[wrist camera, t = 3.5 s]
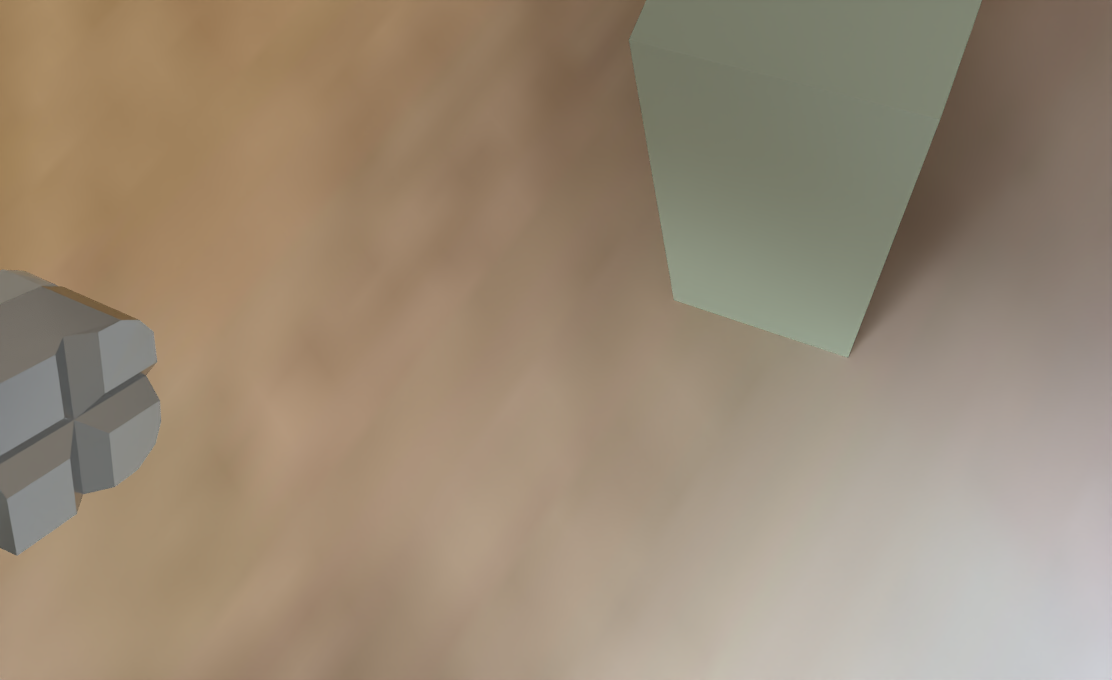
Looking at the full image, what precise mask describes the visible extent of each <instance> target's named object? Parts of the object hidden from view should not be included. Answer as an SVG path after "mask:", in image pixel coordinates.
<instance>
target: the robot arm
mask: <svg viewBox="0 0 1112 680" xmlns="http://www.w3.org/2000/svg"><path fill="white" fill-rule="evenodd" d="M156 363H157V357H156V349H155V341H154V332H153V331H152V330H151V329H149V328H148V327H147V326H146V325H144V324H143V323H142V322H141V321H140V320H138V319H136V318H133V317H131V316H129V315H127V314H124V313H122V312H120V311H117V310H115V309H113V308H110V307H108V306H106V305H104V304H101V303H99V302H97V301H94V300H92V299H90V298H88V297H85V296H83V295H81V294H78V293H76V292H74V291H72V290H69V289H67V288H65V287H61V286H57V285H55V284H53V283H51V282H49V281H46V280H44V279H42V278H39V277H37V276H35V275H33V274H30V273H28V272H26V271H18V270H0V548H2V549H4V550H6V551H8V552H10V553H12V554H14V555H19V554H20V553H22V552H23V551H24V550H26V549H27V548H29V547H30V546H32V545H33V544H34V543H36V542H37V541H39V540H40V539H42V538H43V537H44V536H46V535H47V534H49V533H50V532H52V531H53V530H54V529H56V528H57V527H59V526H60V525H61V524H63V523H64V522H66V521H67V520H69V519H70V518H71V517H73V516H74V515H76V514H77V512H78V508H79V505H80V502H81V499H82V496H83V494H86V493H91V492H95V491H99V490H104V489H108V488H112V487H115V486H116V485H118V484H119V483H121V482H122V481H123V480H125V479H126V478H127V477H129V476H130V475H131V474H133V473H134V472H135V471H137V470H138V469H139V467H140V466H141V464H142V463H143V461H144V460H145V458H146V457H147V456H148V454H149V453H150V451H151V450H152V448H153V447H154V445H155V443H156V439H157V435H158V431H159V427H160V423H161V413H160V400H159V398H158V396H157V394H156V393H155V391H154V389H153V387H152V385H151V384H150V382H149V380H148V378H147V377H146V375H147V374H148V372H149V371H150V370H151V369H152V367H153V366H154V365H155V364H156Z"/></svg>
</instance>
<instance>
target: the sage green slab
mask: <svg viewBox="0 0 1112 680" xmlns="http://www.w3.org/2000/svg"><path fill="white" fill-rule="evenodd" d="M981 2H982V0H646V2H645V5H644V7H643V9H642V11H641V14H640V16H639V18H638V20H637V23H636V25H635V27H634V29H633V32H632V34H631V36H630V38H629V44H630V50H631V55H632V61H633V67H634V73H635V78H636V84H637V90H638V96H639V101H640V107H641V113H642V119H643V124H644V130H645V136H646V142H647V148H648V153H649V159H650V165H651V171H652V176H653V182H654V188H655V194H656V199H657V205H658V211H659V217H660V223H661V228H662V234H663V240H664V246H665V251H666V257H667V263H668V269H669V274H670V280H671V286H672V292H673V297H674V300H675V301H678V302H681V303H684V304H687V305H690V306H693V307H696V308H699V309H702V310H705V311H709V312H712V313H715V314H718V315H721V316H724V317H727V318H730V319H733V320H736V321H739V322H742V323H745V324H748V325H751V326H754V327H757V328H760V329H763V330H766V331H769V332H772V333H775V334H778V335H781V336H784V337H787V338H790V339H793V340H796V341H799V342H802V343H805V344H808V345H811V346H814V347H817V348H820V349H823V350H826V351H829V352H832V353H835V354H838V355H841V356H844V357H847V358H848V356H849V354H850V351H851V349H852V346H853V344H854V341H855V338H856V336H857V333H858V331H859V328H860V325H861V323H862V320H863V318H864V315H865V313H866V310H867V307H868V305H869V302H870V300H871V297H872V294H873V292H874V289H875V287H876V284H877V282H878V279H879V276H880V274H881V271H882V269H883V266H884V263H885V261H886V258H887V256H888V253H889V251H890V248H891V245H892V243H893V240H894V238H895V235H896V232H897V230H898V227H899V225H900V222H901V219H902V217H903V214H904V212H905V209H906V207H907V204H908V201H909V199H910V196H911V194H912V191H913V188H914V186H915V183H916V181H917V178H918V176H919V173H920V170H921V168H922V165H923V163H924V160H925V157H926V155H927V152H928V150H929V147H930V145H931V142H932V139H933V137H934V134H935V132H936V129H937V126H938V124H939V121H940V119H941V116H942V113H943V110H944V107H945V104H946V101H947V99H948V96H949V93H950V90H951V87H952V84H953V82H954V79H955V76H956V73H957V70H958V67H959V65H960V62H961V59H962V56H963V53H964V50H965V47H966V45H967V42H968V39H969V36H970V33H971V30H972V28H973V25H974V22H975V19H976V16H977V13H978V10H979V8H980V5H981Z"/></svg>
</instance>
